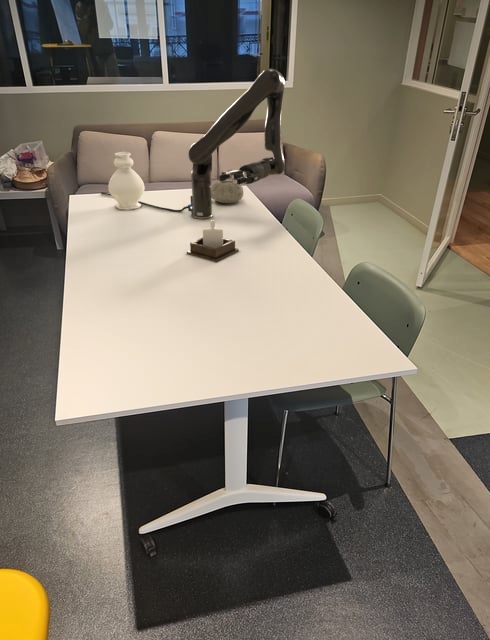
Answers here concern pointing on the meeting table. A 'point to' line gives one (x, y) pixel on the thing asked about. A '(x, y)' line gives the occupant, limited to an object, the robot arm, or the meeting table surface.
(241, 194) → the decorative shell
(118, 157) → the decorative vase
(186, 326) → the meeting table surface
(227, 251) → the bottle stand
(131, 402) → the meeting table surface
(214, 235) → the perfume bottle
